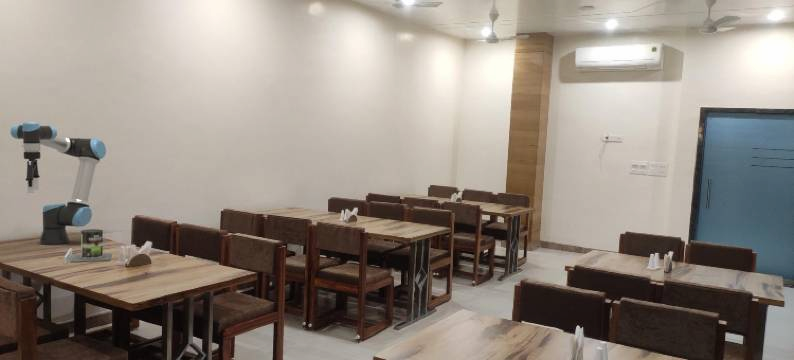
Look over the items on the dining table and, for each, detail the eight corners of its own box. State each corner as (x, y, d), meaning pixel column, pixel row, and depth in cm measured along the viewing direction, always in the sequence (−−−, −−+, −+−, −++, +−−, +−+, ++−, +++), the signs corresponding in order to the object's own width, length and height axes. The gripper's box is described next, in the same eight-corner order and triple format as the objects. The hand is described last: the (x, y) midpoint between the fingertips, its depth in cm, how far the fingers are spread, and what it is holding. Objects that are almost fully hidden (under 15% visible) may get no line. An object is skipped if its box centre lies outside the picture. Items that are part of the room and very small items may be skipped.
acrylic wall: (70, 254, 314) (70, 248, 313) (72, 254, 314) (72, 248, 314) (64, 264, 292) (64, 257, 291) (66, 264, 292) (66, 257, 292)
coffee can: (106, 257, 308) (106, 230, 307) (86, 259, 300) (86, 232, 299) (97, 254, 314) (97, 228, 313) (77, 257, 306) (77, 230, 305)
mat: (74, 255, 312) (74, 254, 312) (111, 254, 319) (111, 253, 319) (70, 262, 295) (70, 261, 295) (109, 260, 302) (109, 259, 302)
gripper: (27, 150, 317) (29, 188, 319) (18, 152, 294) (20, 194, 296) (43, 150, 320) (45, 188, 322) (36, 152, 297) (37, 193, 299)
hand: (33, 191), depth 309 cm, fingers open, 13 cm apart
